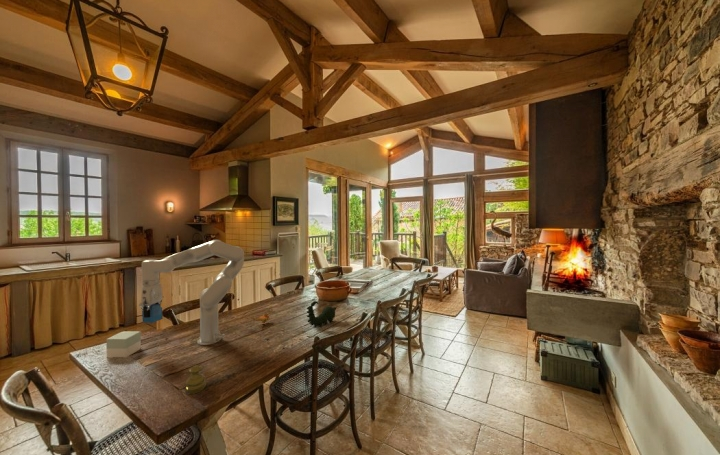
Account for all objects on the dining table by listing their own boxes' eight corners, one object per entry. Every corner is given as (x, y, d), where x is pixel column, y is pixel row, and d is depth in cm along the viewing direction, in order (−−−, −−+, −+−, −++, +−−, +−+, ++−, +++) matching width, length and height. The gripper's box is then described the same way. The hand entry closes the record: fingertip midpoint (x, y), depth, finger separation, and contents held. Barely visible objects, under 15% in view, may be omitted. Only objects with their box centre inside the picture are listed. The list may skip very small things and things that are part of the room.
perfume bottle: (152, 323, 148) (151, 300, 148) (142, 322, 150) (141, 300, 149) (162, 318, 154) (161, 297, 154) (153, 318, 156) (152, 297, 155)
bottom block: (140, 349, 155) (140, 340, 155) (125, 357, 145) (125, 348, 145) (122, 349, 155) (122, 340, 155) (106, 357, 145) (106, 348, 145)
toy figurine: (314, 333, 182) (341, 320, 200) (312, 305, 180) (340, 294, 198) (305, 329, 188) (332, 316, 207) (303, 302, 187) (331, 292, 205)
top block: (140, 340, 155) (140, 331, 155) (125, 348, 145) (125, 339, 145) (122, 340, 155) (122, 331, 155) (106, 348, 145) (106, 339, 145)
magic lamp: (248, 327, 187) (247, 311, 186) (269, 319, 202) (269, 304, 202) (254, 329, 183) (254, 313, 183) (275, 321, 199) (275, 305, 199)
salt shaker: (181, 392, 117) (181, 368, 116) (197, 382, 124) (197, 360, 123) (193, 396, 114) (193, 372, 114) (209, 386, 121) (209, 363, 121)
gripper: (145, 286, 142) (147, 320, 143) (169, 278, 160) (170, 309, 161) (131, 286, 143) (132, 320, 143) (156, 279, 160) (157, 309, 161)
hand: (152, 314), depth 152 cm, fingers closed on perfume bottle, 7 cm apart
